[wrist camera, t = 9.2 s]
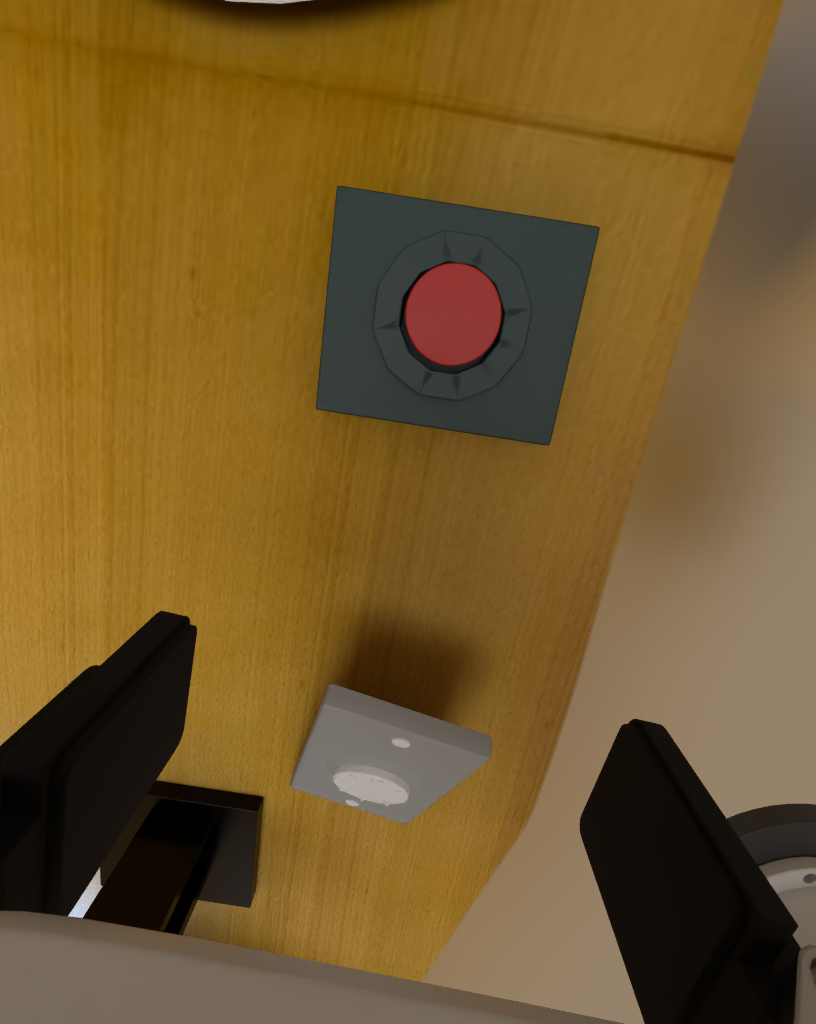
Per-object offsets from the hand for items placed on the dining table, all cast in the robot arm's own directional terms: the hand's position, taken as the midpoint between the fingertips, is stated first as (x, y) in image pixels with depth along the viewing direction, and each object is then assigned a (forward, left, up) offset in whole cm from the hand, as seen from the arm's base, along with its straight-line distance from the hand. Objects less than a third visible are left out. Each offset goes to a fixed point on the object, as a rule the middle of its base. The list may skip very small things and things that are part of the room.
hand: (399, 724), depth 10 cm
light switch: (-4, +14, -19) cm, 24 cm away
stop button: (+2, -9, -15) cm, 18 cm away
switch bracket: (+5, +30, -18) cm, 35 cm away
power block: (+2, -9, -18) cm, 21 cm away
